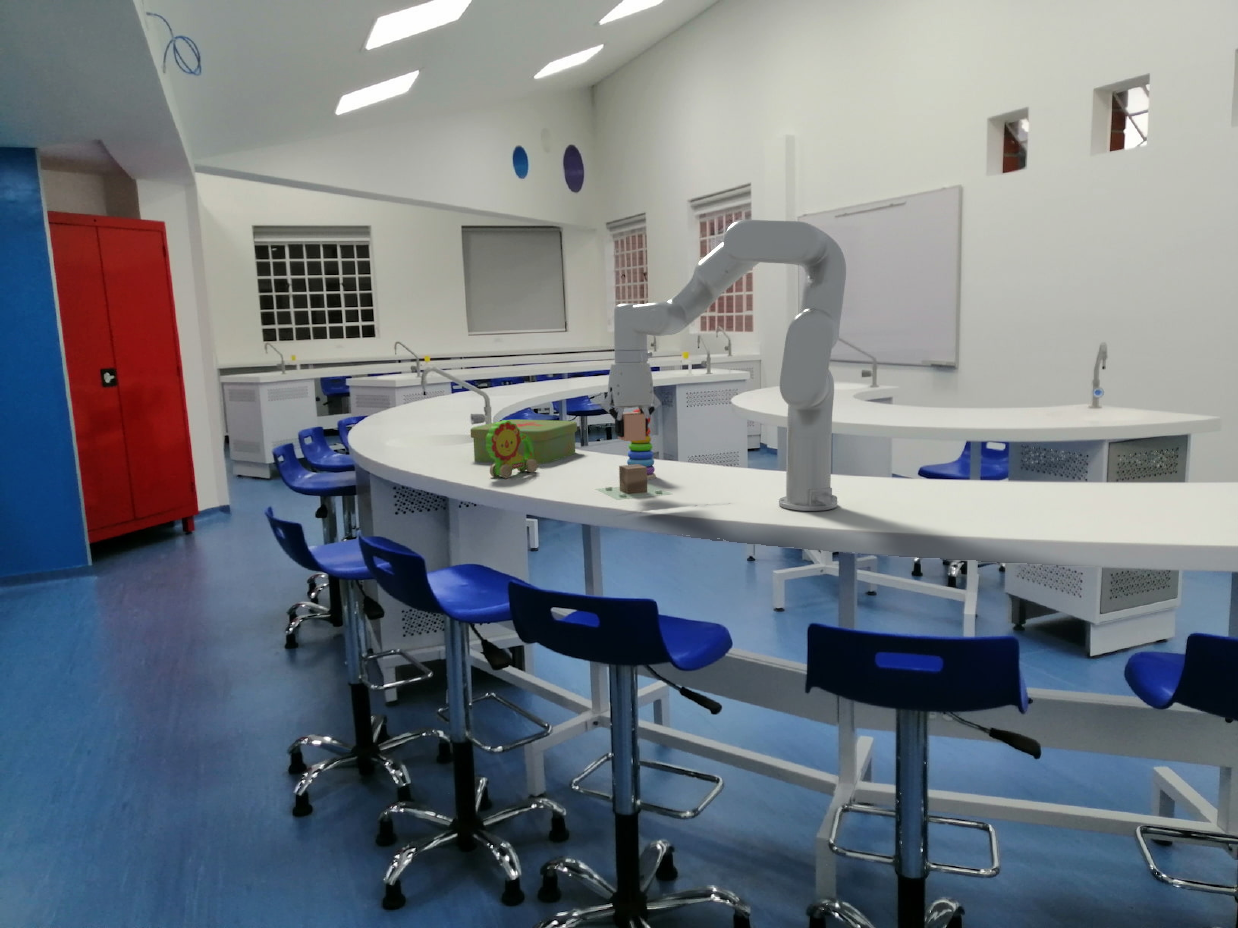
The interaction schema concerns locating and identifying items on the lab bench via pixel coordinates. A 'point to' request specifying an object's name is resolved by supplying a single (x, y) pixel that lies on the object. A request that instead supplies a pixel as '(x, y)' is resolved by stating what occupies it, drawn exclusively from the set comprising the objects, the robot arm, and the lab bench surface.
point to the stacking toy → (642, 453)
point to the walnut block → (633, 478)
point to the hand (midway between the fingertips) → (631, 435)
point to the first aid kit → (533, 439)
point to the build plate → (618, 494)
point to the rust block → (633, 426)
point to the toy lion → (509, 450)
